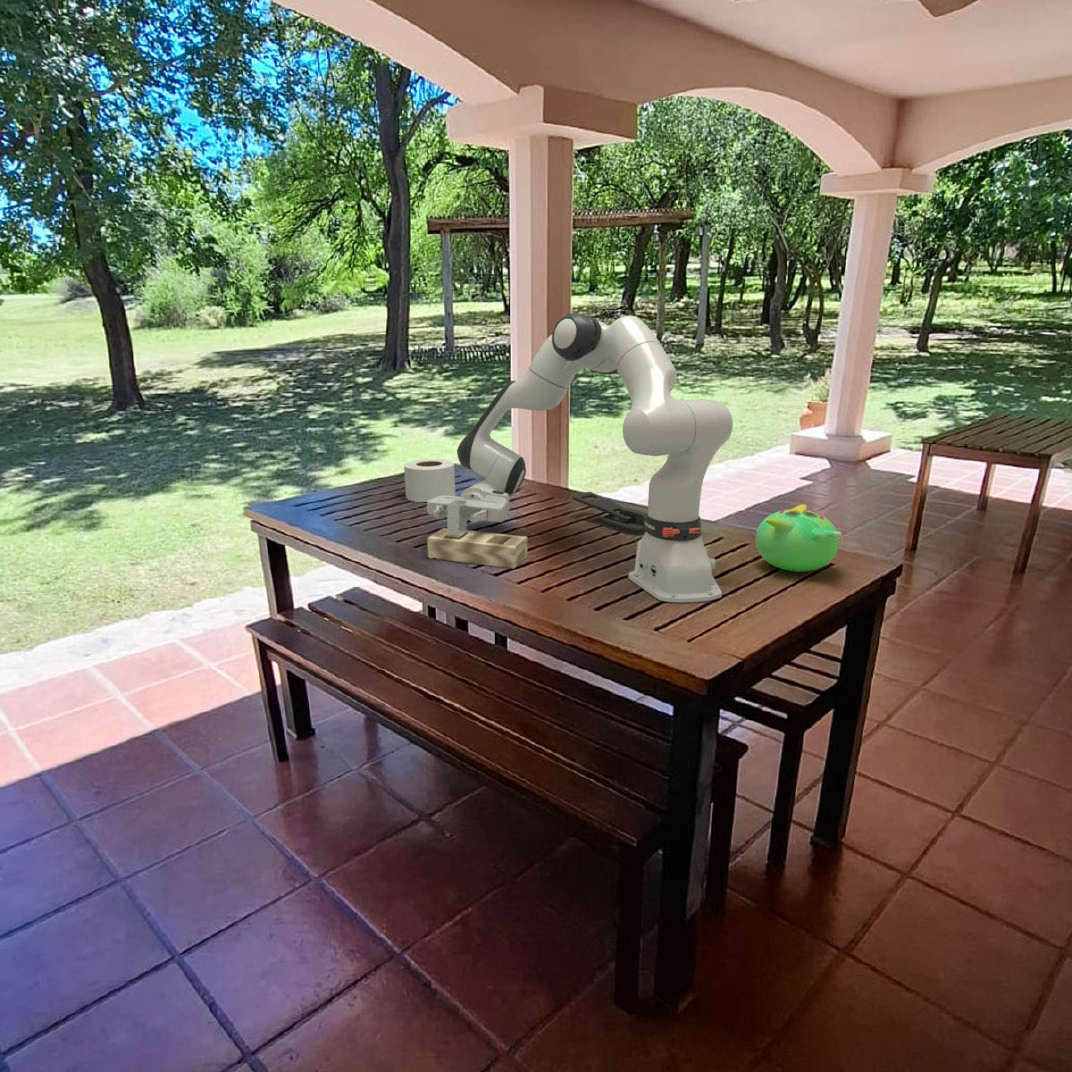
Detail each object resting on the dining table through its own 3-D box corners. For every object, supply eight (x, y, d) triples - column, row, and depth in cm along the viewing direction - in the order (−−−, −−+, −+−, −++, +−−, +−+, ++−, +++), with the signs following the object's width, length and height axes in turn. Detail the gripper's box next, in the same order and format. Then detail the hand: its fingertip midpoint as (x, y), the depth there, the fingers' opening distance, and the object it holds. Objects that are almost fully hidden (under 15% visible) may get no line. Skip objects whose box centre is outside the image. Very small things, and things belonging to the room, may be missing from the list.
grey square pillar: (466, 552, 181) (467, 501, 177) (458, 558, 177) (459, 506, 173) (455, 550, 182) (455, 499, 178) (447, 556, 178) (447, 504, 174)
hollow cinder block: (527, 556, 179) (527, 536, 177) (514, 568, 171) (513, 547, 169) (444, 546, 186) (443, 527, 184) (428, 557, 178) (427, 537, 176)
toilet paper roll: (396, 500, 229) (394, 466, 226) (422, 489, 243) (420, 456, 240) (440, 505, 223) (438, 470, 220) (464, 494, 237) (463, 460, 234)
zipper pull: (590, 490, 215) (659, 507, 198) (589, 512, 217) (658, 530, 200) (569, 495, 209) (638, 513, 192) (568, 518, 211) (637, 537, 194)
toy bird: (831, 561, 177) (839, 501, 172) (838, 586, 161) (847, 521, 157) (752, 554, 181) (758, 496, 177) (752, 578, 166) (759, 514, 161)
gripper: (440, 487, 191) (414, 500, 178) (514, 493, 185) (493, 507, 172) (441, 510, 193) (415, 525, 180) (514, 518, 186) (493, 533, 174)
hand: (454, 516), depth 176 cm, fingers open, 8 cm apart
